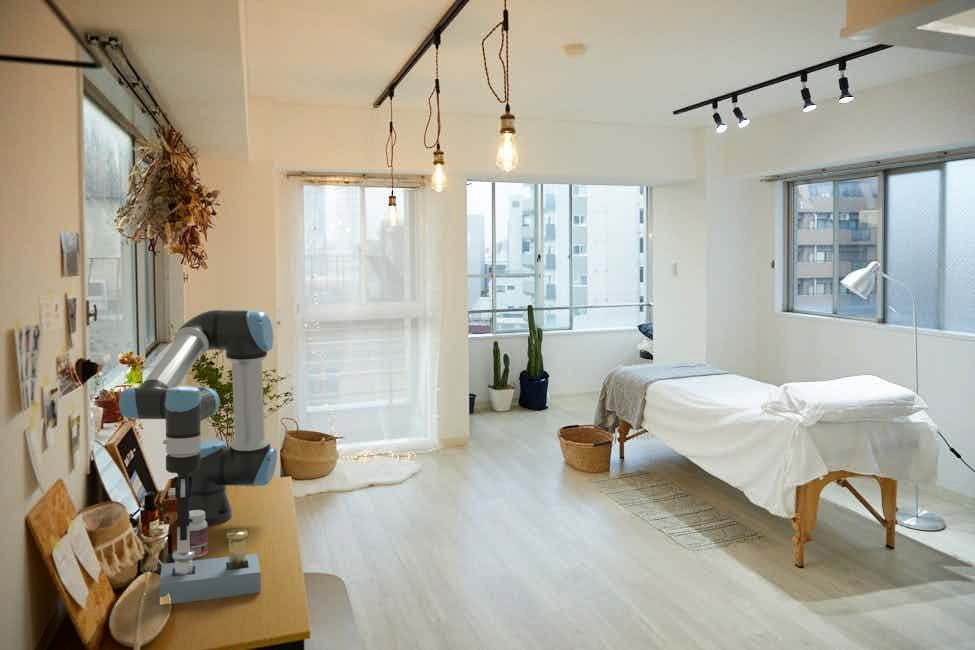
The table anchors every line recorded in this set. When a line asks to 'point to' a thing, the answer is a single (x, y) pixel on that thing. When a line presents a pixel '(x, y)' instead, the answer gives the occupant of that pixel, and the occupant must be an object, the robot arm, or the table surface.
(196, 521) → the pill bottle
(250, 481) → the robot arm
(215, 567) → the socket block
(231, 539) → the glass jar
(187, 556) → the small lidded jar
